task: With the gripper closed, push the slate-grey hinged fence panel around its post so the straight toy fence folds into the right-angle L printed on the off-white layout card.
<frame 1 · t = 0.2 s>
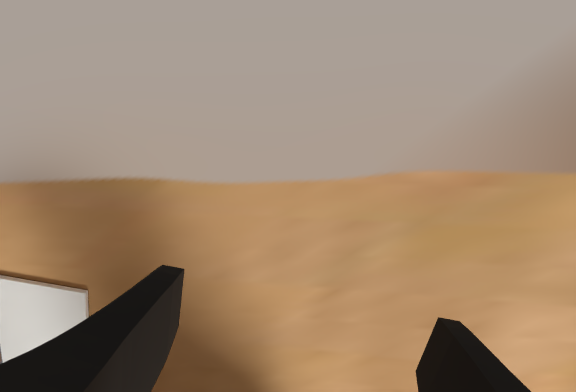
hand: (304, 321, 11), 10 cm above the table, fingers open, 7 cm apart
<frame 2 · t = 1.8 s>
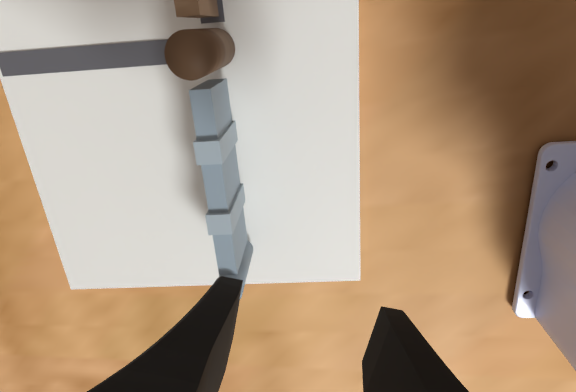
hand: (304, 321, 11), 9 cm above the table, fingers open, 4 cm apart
fence folding panel: (224, 191, 18), point 3 cm above the table, hinge at 0.0°
layout card: (179, 86, 18), on the table
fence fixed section: (216, 48, 17), resting on layout card
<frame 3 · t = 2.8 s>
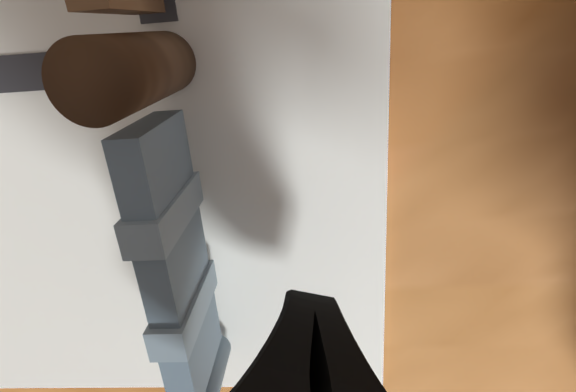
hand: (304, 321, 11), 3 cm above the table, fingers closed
fence folding panel: (179, 283, 11), point 3 cm above the table, hinge at 0.0°
layout card: (114, 118, 12), on the table
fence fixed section: (167, 62, 11), resting on layout card
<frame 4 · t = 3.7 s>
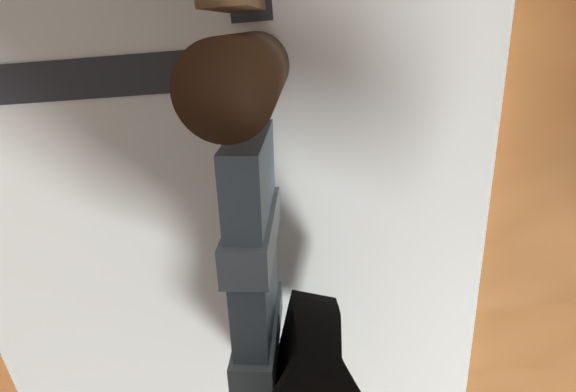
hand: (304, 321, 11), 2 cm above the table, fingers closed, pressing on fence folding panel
fence folding panel: (257, 311, 10), point 3 cm above the table, hinge at 3.4°, touching gripper
layout card: (191, 127, 11), on the table
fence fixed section: (257, 65, 10), resting on layout card
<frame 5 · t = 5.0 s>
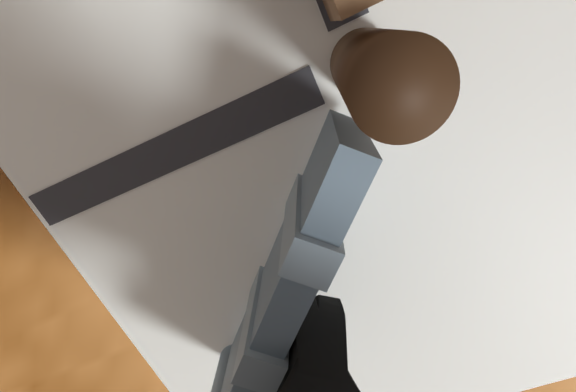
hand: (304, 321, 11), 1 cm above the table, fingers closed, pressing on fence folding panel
fence folding panel: (276, 301, 10), point 2 cm above the table, hinge at 45.2°, touching gripper
layout card: (311, 147, 11), on the table
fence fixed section: (363, 63, 10), resting on layout card
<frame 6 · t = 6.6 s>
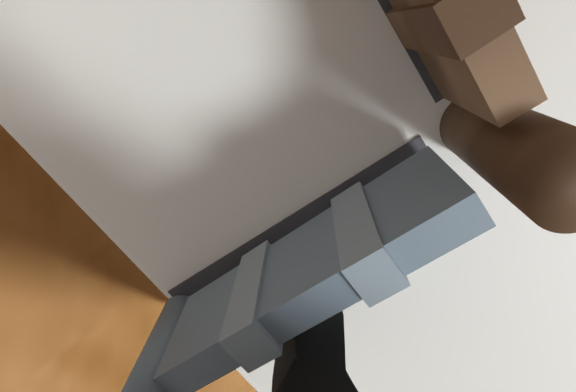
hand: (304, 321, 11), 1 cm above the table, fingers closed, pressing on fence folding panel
fence folding panel: (285, 284, 10), point 2 cm above the table, hinge at 88.9°, touching gripper
layout card: (425, 205, 11), on the table
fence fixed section: (472, 124, 10), resting on layout card
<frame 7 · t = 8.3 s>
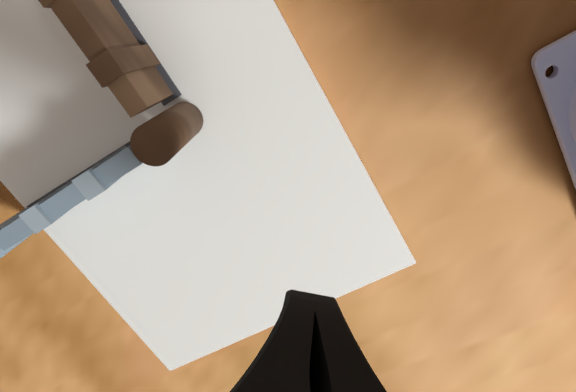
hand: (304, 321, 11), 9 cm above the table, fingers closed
fence folding panel: (69, 195, 18), point 3 cm above the table, hinge at 89.1°
layout card: (172, 164, 20), on the table
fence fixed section: (186, 119, 19), resting on layout card
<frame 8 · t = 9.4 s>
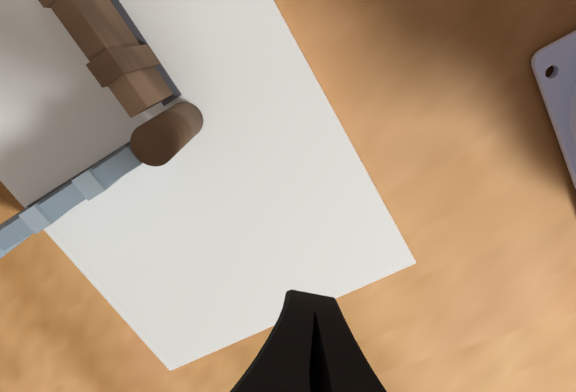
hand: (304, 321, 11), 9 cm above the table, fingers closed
fence folding panel: (69, 195, 18), point 3 cm above the table, hinge at 89.1°
layout card: (172, 164, 20), on the table
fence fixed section: (186, 119, 19), resting on layout card
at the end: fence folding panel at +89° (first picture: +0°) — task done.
